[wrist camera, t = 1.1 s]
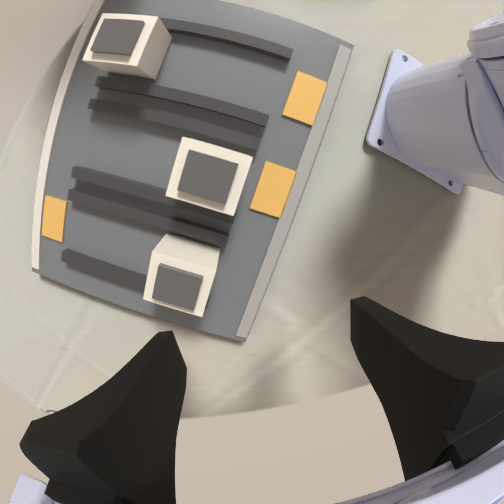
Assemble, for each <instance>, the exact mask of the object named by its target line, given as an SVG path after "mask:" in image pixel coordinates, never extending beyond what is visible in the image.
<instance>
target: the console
mask: <svg viewBox="0 0 504 504" xmlns="http://www.w3.org/2000/svg"><path fill="white" fill-rule="evenodd" d="M103 13H113V14H134V15H147V16H157V17H159V18H160V20H161V21H162V23H163V24H164V26H165V27H166V29H167V30H168V32H169V34H170V35H171V37H172V40H171V42H170V45H169V47H168V49H167V52H166V54H165V57H164V59H163V62H162V64H161V67H160V69H159V72H158V75H157V77H156V80H153V79H147V78H141V77H135V76H129V75H122V74H115V73H107V72H105V71H103V70H101V69H99V68H97V67H95V66H93V65H91V64H89V63H87V62H85V61H83V60H82V59H83V57H84V54H85V52H86V49H87V47H88V44H89V42H90V40H91V37H92V35H93V33H94V31H95V28H96V26H97V24H98V22H99V20H100V18H101V16H102V14H103ZM353 46H354V45H352V44H350V43H348V42H345V41H343V40H341V39H339V38H336V37H334V36H332V35H330V34H327V33H325V32H322V31H320V30H317V29H315V28H312V27H310V26H307V25H304V24H301V23H299V22H296V21H293V20H290V19H287V18H284V17H281V16H278V15H274V14H271V13H268V12H264V11H261V10H257V9H253V8H249V7H245V6H241V5H237V4H233V3H228V2H223V1H218V0H95V1H94V3H93V5H92V7H91V9H90V11H89V13H88V15H87V17H86V19H85V21H84V23H83V25H82V27H81V29H80V32H79V34H78V36H77V38H76V41H75V43H74V46H73V48H72V51H71V53H70V56H69V58H68V61H67V64H66V66H65V69H64V72H63V75H62V78H61V81H60V84H59V87H58V90H57V93H56V97H55V100H54V103H53V107H52V111H51V114H50V118H49V122H48V126H47V131H46V135H45V140H44V144H43V149H42V155H41V160H40V166H39V172H38V179H37V187H36V195H35V204H34V215H33V230H32V271H33V272H36V273H38V274H40V275H42V276H45V277H47V278H50V279H52V280H54V281H57V282H59V283H62V284H64V285H67V286H69V287H72V288H74V289H77V290H79V291H82V292H84V293H87V294H90V295H92V296H95V297H98V298H100V299H103V300H106V301H109V302H111V303H114V304H117V305H120V306H123V307H126V308H129V309H132V310H135V311H138V312H141V313H144V314H147V315H150V316H153V317H156V318H160V319H163V320H166V321H169V322H173V323H176V324H179V325H183V326H186V327H190V328H193V329H197V330H200V331H204V332H208V333H211V334H215V335H219V336H223V337H227V338H231V339H235V340H239V341H243V342H246V339H247V337H248V335H249V332H250V330H251V327H252V325H253V322H254V320H255V317H256V315H257V312H258V310H259V307H260V305H261V302H262V300H263V297H264V295H265V292H266V290H267V287H268V284H269V282H270V279H271V277H272V274H273V272H274V269H275V266H276V264H277V261H278V259H279V256H280V253H281V251H282V248H283V246H284V243H285V240H286V238H287V235H288V232H289V230H290V227H291V224H292V222H293V219H294V216H295V214H296V211H297V208H298V206H299V203H300V200H301V197H302V195H303V192H304V189H305V187H306V184H307V181H308V178H309V176H310V173H311V170H312V167H313V164H314V162H315V159H316V156H317V153H318V150H319V148H320V145H321V142H322V139H323V136H324V133H325V130H326V128H327V125H328V122H329V119H330V116H331V113H332V110H333V107H334V104H335V101H336V98H337V95H338V92H339V89H340V86H341V83H342V80H343V77H344V74H345V71H346V68H347V65H348V62H349V59H350V56H351V53H352V50H353ZM182 137H187V138H192V139H196V140H200V141H203V142H207V143H210V144H214V145H217V146H220V147H224V148H227V149H230V150H234V151H237V152H240V153H243V154H246V155H250V156H252V157H253V159H252V162H251V165H250V168H249V171H248V174H247V177H246V180H245V183H244V186H243V189H242V192H241V195H240V198H239V201H238V204H237V207H236V210H235V213H234V216H231V215H228V214H225V213H222V212H218V211H215V210H212V209H208V208H205V207H202V206H198V205H195V204H192V203H188V202H185V201H182V200H178V199H175V198H171V197H168V196H165V195H166V192H167V188H168V184H169V181H170V177H171V173H172V170H173V166H174V163H175V160H176V156H177V153H178V150H179V146H180V143H181V140H182ZM167 232H168V233H171V234H174V235H178V236H181V237H184V238H187V239H191V240H194V241H197V242H201V243H204V244H207V245H211V246H214V247H218V248H220V253H219V258H218V264H217V269H216V273H215V276H214V279H213V283H212V286H211V289H210V293H209V296H208V299H207V303H206V306H205V309H204V313H203V316H202V317H200V316H196V315H193V314H189V313H186V312H182V311H179V310H176V309H172V308H169V307H166V306H163V305H159V304H156V303H153V302H150V301H147V300H144V299H143V296H144V291H145V285H146V280H147V275H148V270H149V265H150V260H151V255H152V251H153V250H154V248H155V247H156V246H157V245H158V243H159V242H160V241H161V240H162V238H163V237H164V236H165V235H166V233H167Z"/></svg>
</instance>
